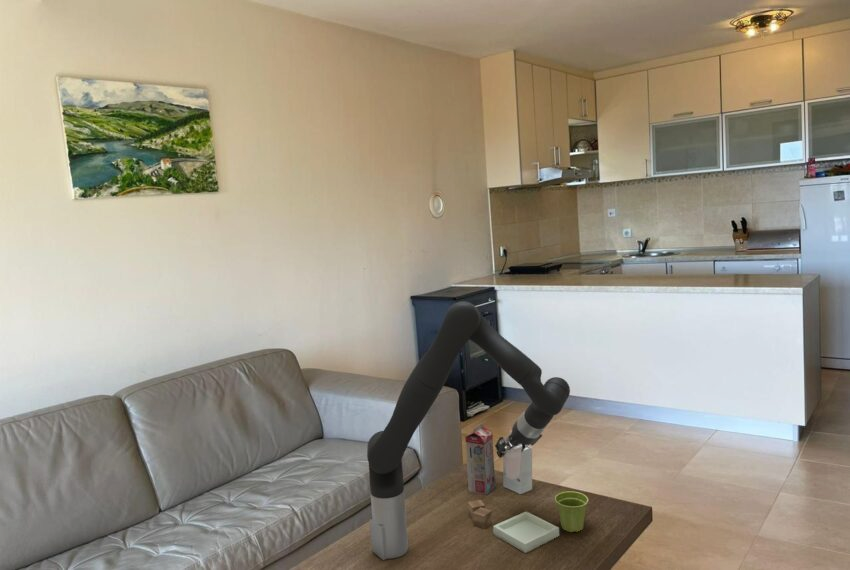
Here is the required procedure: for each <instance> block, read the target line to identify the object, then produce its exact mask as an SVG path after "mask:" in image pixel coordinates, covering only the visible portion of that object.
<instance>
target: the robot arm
mask: <svg viewBox="0 0 850 570" xmlns="http://www.w3.org/2000/svg"><path fill="white" fill-rule="evenodd" d="M468 341H471V342H472V343H474V344H475V345H477V347H479V348H480V349H481V350H482V351H484V352H485V353H486V354H487V355H488V356H489V357H490V358H491V359H492V360H493V361H494V362H495V363H496V364H497V365H498V366H499V367H500V369H501V370H503V371H504V372H505V373H506V374H507V376H509V377H510V378H512V380H514V381H515V382H516V383H517V384H518V385H520V386H521V387H522V389H523V390H524V392H525V394H526V395H527V396H528V397H529V399H530V401H531V402H530V404H529V405H528V406H527V408H526V409H525V410H524V411H523V412H522V413H521V414H520V416H519V417H518V418H517V420H516V421H515V422H514V424H513V425H512V427H511V430H512V434H511V435H510V434H509V435H508V436H507V437H506V438H504V436H500V437H499V438H498V440H497V442H496V443H495V444H494V447H495V449H496V454H497V457H498V458H499V459H500V458H502V459H503V456H504V454H505V453H506V452H507V451H508V450H513V449H514V448H515V447H517V446H520V445H522V450H521V452H523V450H524V449H525V448H526V447H528V446H529V447H530V446H534V445H535V444H536V443H538V441H539V440H540V439H541V438H542V437H543V435H542V433H543V432H544V431H545V429H546V427H547V426H548V425H549V423H550V422H551V421H552V419H553V418H554V416H557V415H558V414H560V412H561V411H562V409H563V408H564V406H565V404H566V401H567V400H568V398H569V397H570V394H571V387H570V384H568V383H569V382H567V381H566V380H565V379H564V378H562V377H558V376H554V377H550V378H549V379H547V380H546V381H545V382H544V384H543V382H542V378H541V377H542V373H543V370H542V368H541V367H540V366H539V365H538V364H537V363H535V362H534V360H532V359H531V358H530V357H528V355H526V354H525V353H523V352H522V350H520V349H519V348H518V347H516V346H515V345H514V344H512V343H511V342H510V341H508V340H507V339H506V338H505V337H503V336H502V335H501V334H500V333H499V332H498V331H497V330H496V329H495V328H493V327H492V325H490V323H489V322H488V321H487V320H486V319H485V318H484V316H483V315H482V314H481V313H480V311H479V310H478V308H477V307H476V305H474V304H473V303H472V302H470V301H466V300H465V301H464V300H463V301H462V300H461V301H457V302H455V303H454V304H452V305H450V307H449V308H448V309H447V312H446V313H445V317H444V319H443V321H442V323H441V326H440V328H439V330H438V332H437V334H436V336H435V338H434V340H433V342H432V343H431V345H430V347H429V348H428V349H427V350H426V351H425V353H424V354H423V355H422V357H421V358H420V359H419V361H418V362H417V363H416V365H415V367H414V368H413V369H412V371H411V373H410V374H409V376H408V378H407V380H406V381H405V383H404V385H403V387H402V389H401V391H400V393H399V396H398V398H397V402H396V403H395V407H394V410H393V413H392V415H391V417H390V419H389V421H388V423H387V425H386V426H385V428H384V429H383V430H380V431H377V432H375V433H374V434H373V435H371V437H370V438H369V440H368V443H367V449H366V450H367V451H366V452H367V453H366V456H367V462H368V471H369V472H368V473H369V476H368V477H369V491H370V502H371V517H372V518H369V527H370V528H369V529H370V539H371V541H370V542H371V552H372V551H373V553H374V554H375V555H377V556H378V558H380V559H381V560H383V561H385V560H388V559H389V560H391V559H396V558H400V557H403V555H405V554H407V552H408V550H409V543H408V542H409V541H408V530H407V529H408V527H407V512H406V499H405V498H406V496H405V487H404V486H405V485H404V483H405V482H404V472H403V458H404V457H403V456H404V455H405V453H406V450H407V448H408V446H409V444H410V441H411V439H412V437H413V435H414V434H415V432H416V431H417V429H418V427H419V426H420V425H421V423H422V422H423V420H424V418H425V417H426V415H427V414H428V412H429V411H430V409H431V407H432V406H433V404H434V403H435V402H436V399H437V398H438V397H439V395H440V392H441V391H442V389H443V387H444V385H445V383H446V381H447V380H448V377H449V376H450V373H451V371H452V368H453V367H454V365H455V364H454V363H455V361H456V360H457V357H458V356H459V355H460V353H461V352H462V350H463V348H464V347H465V345H466V344H467V343H468ZM509 442H510V443H509ZM510 444H511V445H512V446H511V445H510ZM506 446H507V448H506V449H505V447H506Z"/></svg>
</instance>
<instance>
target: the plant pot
mask: <svg viewBox="0 0 850 570" xmlns="http://www.w3.org/2000/svg"><path fill="white" fill-rule="evenodd" d="M554 501H555V503H556V506H557V508H558V514H559V519H560V527H561V528H562V529H563V530H564V531H565V530H566V531H565V532H569V533H573V532H577V533H579V532H580V530H581V531H582V530H583V529H584V526H585V525H584V523H585V515H586V508H587V506H588V504H589V497H588V496H587V495H585V494H584V493H582V492H578V491H573V490H572V491H570V490H569V491H563V492H559V493H558V494H556V495H554ZM578 531H579V532H578Z"/></svg>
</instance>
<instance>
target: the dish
mask: <svg viewBox="0 0 850 570" xmlns="http://www.w3.org/2000/svg"><path fill="white" fill-rule="evenodd" d="M492 528H493V529H492V531H493V535H494V536H495V537H497V538H499V539H500V540H502V541H505V542H506V543H508V544H509V545H511V546H513V547H515V548H516V549H519V550H520V551H522V553H525V554H527V553H529V552H531V551H532V550H534V549H537V548H539V547H540V545H541V546H542V544H543V545H544V544H546V543H549V542H551V541H553V540H554V538H555V539H557V538H559V537H560V527H559V526H556V525H554V524H552V523H550V522H549V521H546V520H544V519H543V518H540V517H539V516H536V515H534V514H532V513H531V512H528V511H525V512H521V513H520V514H519V513H518V514H517V515H515V516H512V517H511V518H508V519H506V520H504V521H501V522H499V523H497V524H495V525H493V527H492ZM558 536H559V537H558ZM556 537H557V538H556ZM548 541H549V542H548Z"/></svg>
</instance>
